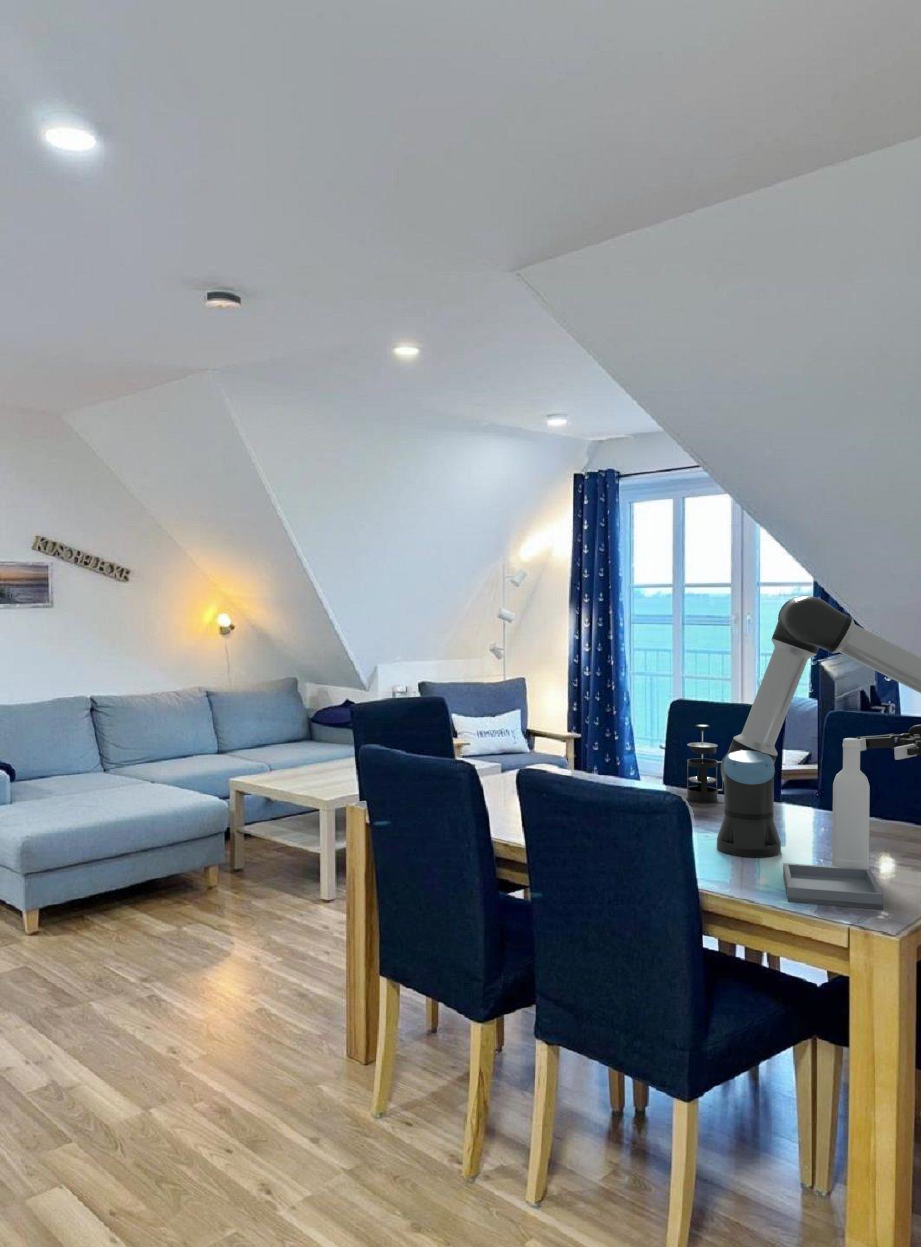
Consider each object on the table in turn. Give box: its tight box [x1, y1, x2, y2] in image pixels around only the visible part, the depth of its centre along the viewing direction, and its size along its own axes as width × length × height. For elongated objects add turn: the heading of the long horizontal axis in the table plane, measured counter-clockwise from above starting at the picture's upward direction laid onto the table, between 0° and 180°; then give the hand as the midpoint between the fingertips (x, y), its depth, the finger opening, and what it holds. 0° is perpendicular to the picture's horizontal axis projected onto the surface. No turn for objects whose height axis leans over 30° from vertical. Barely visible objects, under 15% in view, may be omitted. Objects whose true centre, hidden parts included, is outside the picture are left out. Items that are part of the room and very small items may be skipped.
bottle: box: [831, 737, 871, 869], centre depth 216 cm, size 8×8×30 cm
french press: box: [686, 724, 724, 804], centre depth 289 cm, size 12×9×23 cm
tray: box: [782, 862, 884, 910], centre depth 201 cm, size 18×18×3 cm
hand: (870, 750), depth 220 cm, fingers open, 13 cm apart
